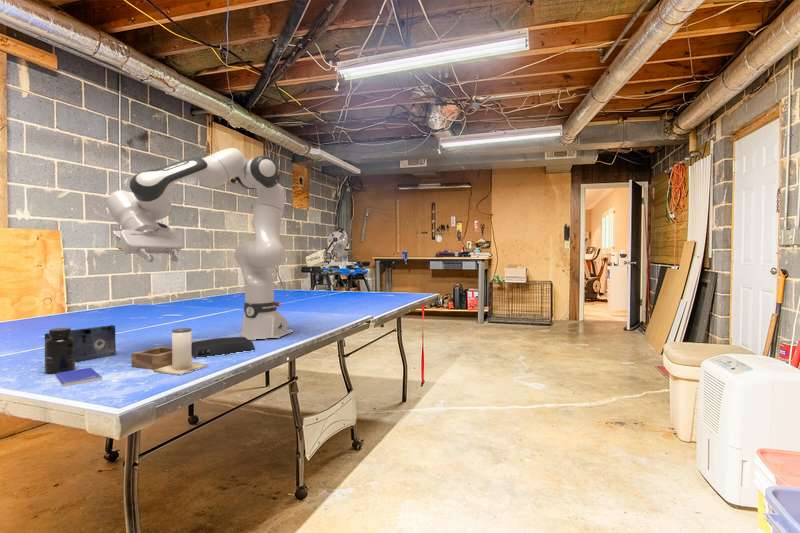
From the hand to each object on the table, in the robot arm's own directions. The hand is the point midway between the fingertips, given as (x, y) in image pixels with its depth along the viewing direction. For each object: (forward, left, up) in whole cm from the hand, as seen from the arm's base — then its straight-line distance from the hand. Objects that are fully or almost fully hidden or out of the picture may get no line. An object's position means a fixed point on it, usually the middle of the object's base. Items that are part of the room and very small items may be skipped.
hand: (164, 260), depth 134 cm
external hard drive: (-13, +11, -32) cm, 36 cm away
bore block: (+7, +5, -31) cm, 33 cm away
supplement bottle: (+22, -15, -32) cm, 41 cm away
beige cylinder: (+9, +16, -31) cm, 36 cm away
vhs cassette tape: (+12, -21, -32) cm, 40 cm away
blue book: (+25, -2, -32) cm, 41 cm away
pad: (+9, +16, -31) cm, 37 cm away
